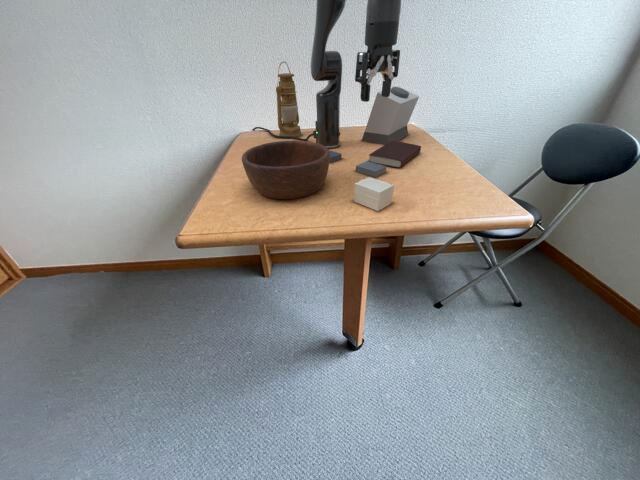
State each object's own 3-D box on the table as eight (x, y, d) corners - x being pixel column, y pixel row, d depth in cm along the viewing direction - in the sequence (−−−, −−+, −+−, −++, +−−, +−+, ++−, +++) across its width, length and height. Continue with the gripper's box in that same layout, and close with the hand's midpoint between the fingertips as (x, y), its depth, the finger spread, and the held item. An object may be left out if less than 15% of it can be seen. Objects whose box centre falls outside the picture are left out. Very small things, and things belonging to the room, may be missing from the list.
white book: (354, 190, 73) (354, 183, 71) (368, 183, 76) (369, 176, 75) (379, 199, 68) (379, 192, 67) (393, 192, 71) (394, 185, 70)
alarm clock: (381, 130, 135) (386, 83, 123) (413, 134, 127) (421, 84, 116) (361, 140, 122) (364, 88, 110) (395, 146, 114) (402, 90, 102)
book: (420, 153, 105) (422, 144, 103) (400, 169, 93) (402, 159, 91) (389, 148, 111) (390, 140, 110) (367, 162, 99) (368, 153, 97)
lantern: (286, 130, 140) (279, 60, 123) (305, 131, 138) (301, 60, 121) (274, 138, 129) (265, 62, 111) (295, 139, 126) (289, 62, 109)
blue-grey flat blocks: (315, 158, 104) (315, 152, 103) (326, 154, 108) (326, 149, 107) (374, 177, 87) (375, 171, 86) (385, 172, 91) (386, 166, 90)
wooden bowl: (239, 206, 74) (231, 169, 68) (255, 172, 94) (250, 141, 88) (332, 203, 74) (332, 165, 68) (328, 169, 94) (328, 138, 88)
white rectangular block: (353, 201, 74) (354, 190, 73) (367, 194, 78) (368, 183, 76) (377, 211, 70) (378, 199, 68) (391, 203, 73) (393, 192, 71)
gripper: (387, 21, 69) (380, 94, 78) (349, 20, 61) (346, 101, 71) (414, 19, 64) (403, 97, 74) (376, 18, 57) (369, 104, 66)
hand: (375, 98), depth 72 cm, fingers open, 8 cm apart
